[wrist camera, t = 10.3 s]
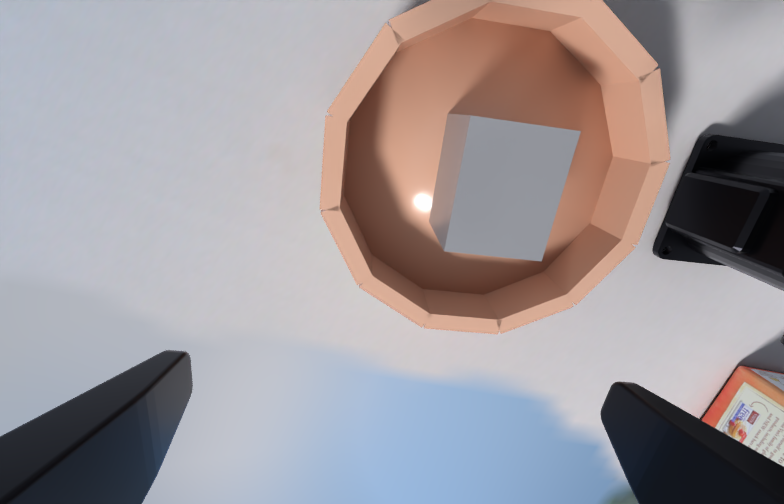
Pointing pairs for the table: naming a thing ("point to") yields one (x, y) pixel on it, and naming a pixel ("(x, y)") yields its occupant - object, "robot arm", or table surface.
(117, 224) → the table surface
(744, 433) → the cracker box
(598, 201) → the bowl
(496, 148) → the grey rectangular prism
